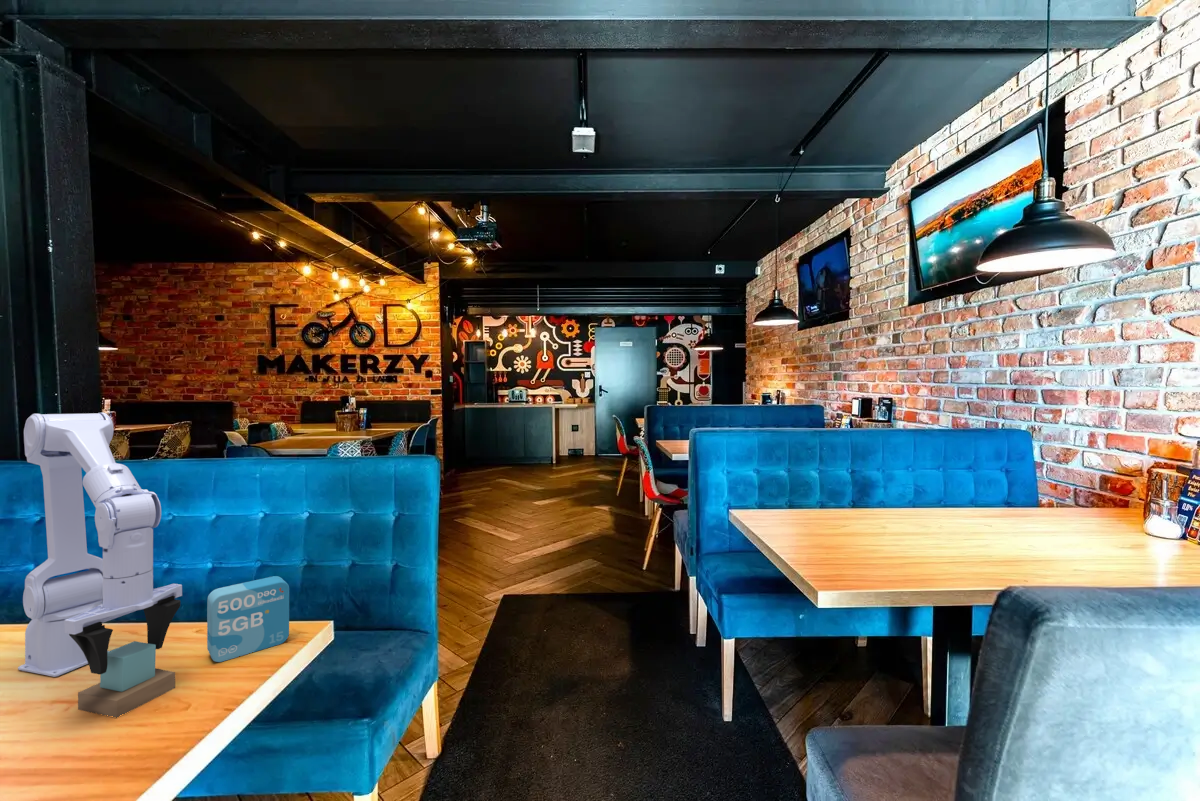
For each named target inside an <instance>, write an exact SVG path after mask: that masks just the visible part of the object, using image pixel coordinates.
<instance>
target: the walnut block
mask: <svg viewBox="0 0 1200 801" xmlns="http://www.w3.org/2000/svg"><path fill="white" fill-rule="evenodd" d="M174 689H176V671H172V670H167V669H166V670H165V669H162V668H158V667H157V668H156V667H155V677H152V678H150V679H148V680H146V681H144V682H142V683H140V684H138V685H135V686H133V687H131V688H129V689H127V690H125V691H123V692H120V691H115V690H110V689H105V688H100V682H98V683H96V684H94V685H91V686H90V687H86V689H83V690H80V691H78V692H77V710H79V711H83V712H88V713H91V712H92V713H91V714H96V713H97V714H96V715H100V714H102V715H101V716H104V715H106V716H105V717H109V716H113V717H116V718H115V719H118V718H120V717H121V716H120V715H122V714H124V715H126V714H128V713H130V712H131V711H134V710H135V709H137V708H138V707H141V706H143V705H145V704H147V703H149V702H151V701H152V700H155V699H157V698H159V697H160V696H162V695H164V694H166V693H167V692H170V691H172V690H174ZM129 711H130V712H129ZM127 712H128V713H127ZM125 713H126V714H125ZM107 715H108V716H107ZM119 716H120V717H119ZM122 716H123V715H122ZM113 717H112V718H113ZM117 717H118V718H117Z"/></svg>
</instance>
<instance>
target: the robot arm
mask: <svg viewBox="0 0 1200 801" xmlns="http://www.w3.org/2000/svg"><path fill="white" fill-rule="evenodd" d="M113 436H114V422H113V419H112V418H111V416H109V415H108V414H107V412H98V413H94V412H93V413H89V412H88V413H47V414H46V413H45V414H41V413H32V414H31V415H30V416H29V417H28V418H27V419H26V420H25V424H24V428H23V444H24V455H25V457H26V461H27V463H30V464H33V465H38V466H40V471H41V474H42V482H43V483H42V484H43V499H44V512H45V513H44V516H45V528H46V545H47V546H46V547H47V559H45V561H43V562H42V563H41V564H39V565H38V566H36V567H35V568H34V569H33V570H32V571H30V572H29V573H28V574H27V575H26V576H25V579H24V590H23V593H22V594H23V595H22V605H23V609H24V613H25V615H26V616H27V617H28V619H31V620H30V621H29V623H28V625H27V627H26V628H25V633H24V635H25V636H24V637H25V638H24V647H25V648H24V651H25V652H24V656H25V657H24V658H25V659H24V663H23V664H21V665H19V666H18V667H17V670H19V671H22V672H29V673H33V674H39V675H45V676H49V677H55V678H56V677H59V676H61V675H64V674H67V673H69V672H71V671H74V670H76V669H78V668H80V667H83V666H85V665H88V668H89V669H90V670H89V671H90V673H91V674H96V675H100V674H103V673H105V672H106V671H107V664H108V651H109V644H110V642H111V636H112V634H113V631H114V629H112V628H107V627H106V625H105V624H104V625H103V623H106V622H109V621H111V620H115V619H117V618H120V617H122V616H123V617H124V616H125V615H129V614H130V613H134V612H136V611H141V610H143V613H144V616H145V622H146V629H147V630H146V634H147V640H146V641H147V642H146V643H149V644H155V645H156V650H160V649H162V648H163V644H164V642H165V639H166V636H167V633H168V630H169V627H170V625H171V624H172V621H173V619H174V617H175V615H176V613H177V611H178V610H179V609H180V608H181V600H180V599H177V598H179V597H183V585H182V584H178V583H171V584H168V585H164V586H160V587H157V588H156V587H155V588H154V528H157V527H158V526H159V524H160V522H161V519H162V506H161V505H162V504H161V501H160V500H159V497H158V494H156V493H155V492H154V491H149V490H148V489H142V487H141V486H140V485H139V483H138V481H137V480H136V478H135V476H134V475H133V473H132V471H131V470H130V468H129V467H128V466H126V465H125V464H122V463H117V462H116V460H115V458H114V455H113V453H112V451H111V448H110V444H111V441H112V439H113ZM82 470H83V471H84V472H85V475H84V476H83V473H82V472H83V471H82ZM83 487H84V489H85V491H86V493H87V495H88V496H89V498H90V500H91V503H93V506H94V507H95V513H94V522H95V523H94V524H95V525H94V526H95V528H96V531H97V537H98V540H97V541H98V546H99V547H100V548H102V557H99V556H96V555H94V554H90V553H88V548H87V546H88V545H87V532H86V531H87V529H86V518H85V517H86V516H85V503H84V489H83ZM82 570H85V571H82ZM79 571H80V572H79ZM73 572H76V573H73ZM70 573H71V574H70ZM64 574H65V575H64ZM66 574H67V575H66ZM60 575H61V576H60ZM55 576H57V577H55Z"/></svg>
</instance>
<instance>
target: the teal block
mask: <svg viewBox="0 0 1200 801" xmlns="http://www.w3.org/2000/svg"><path fill="white" fill-rule="evenodd" d="M156 650H157V649H156V645H155V644H149V643H148V642H142V641H135V640H133V641H132V642H129V643H127V644H125V645H121V646H119V647H115V648H114V649H111V650H108V664H107V671H106V672H105V673H103V674H100V678H99V680H100V681H99V683H100V688H105V689H110V690H115V691H120V692H123V691H125V690H127V689H129V688H131V687H133V686H135V685H138V684H140V683H142V682H144V681H146V680H148V679H150V678H152V677H155V668H156V652H157V651H156Z"/></svg>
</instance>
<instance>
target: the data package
mask: <svg viewBox="0 0 1200 801" xmlns="http://www.w3.org/2000/svg"><path fill="white" fill-rule="evenodd" d="M206 605H207V608H206V611H207V612H206V613H207V614H206V617H207V618H206V620H207V621H206V622H207V628H206V629H207V630H206V632H207V633H206V636H207V637H206V639H207V640H206V642H207V644H206V645H207V647H206V648H207V651H208V653H209V655H210V658H211V659H212V661H213V662H215V663H223V662H225V661H229V660H232V659H235V658H239V656H240V657H242V656H246V655H250V654H252V652H253V653H256V652H259V651H262V650H266V649H269V648H272V647H276V646H279V645H282V644H283V643H284V642H286V641H287V639H288V638H289V635H290V586H289V583H287V581H286V580H284V579H283V578H282V577H280V576H277V575H275V576H269V577H265V578H259V579H256V580H251V581H245V582H241V583H237V584H232V585H228V586H223V587H219V588H215V589H213V590H212V591H211V592H210V593H209V594H208V596H207V603H206ZM249 653H250V654H249Z"/></svg>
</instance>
